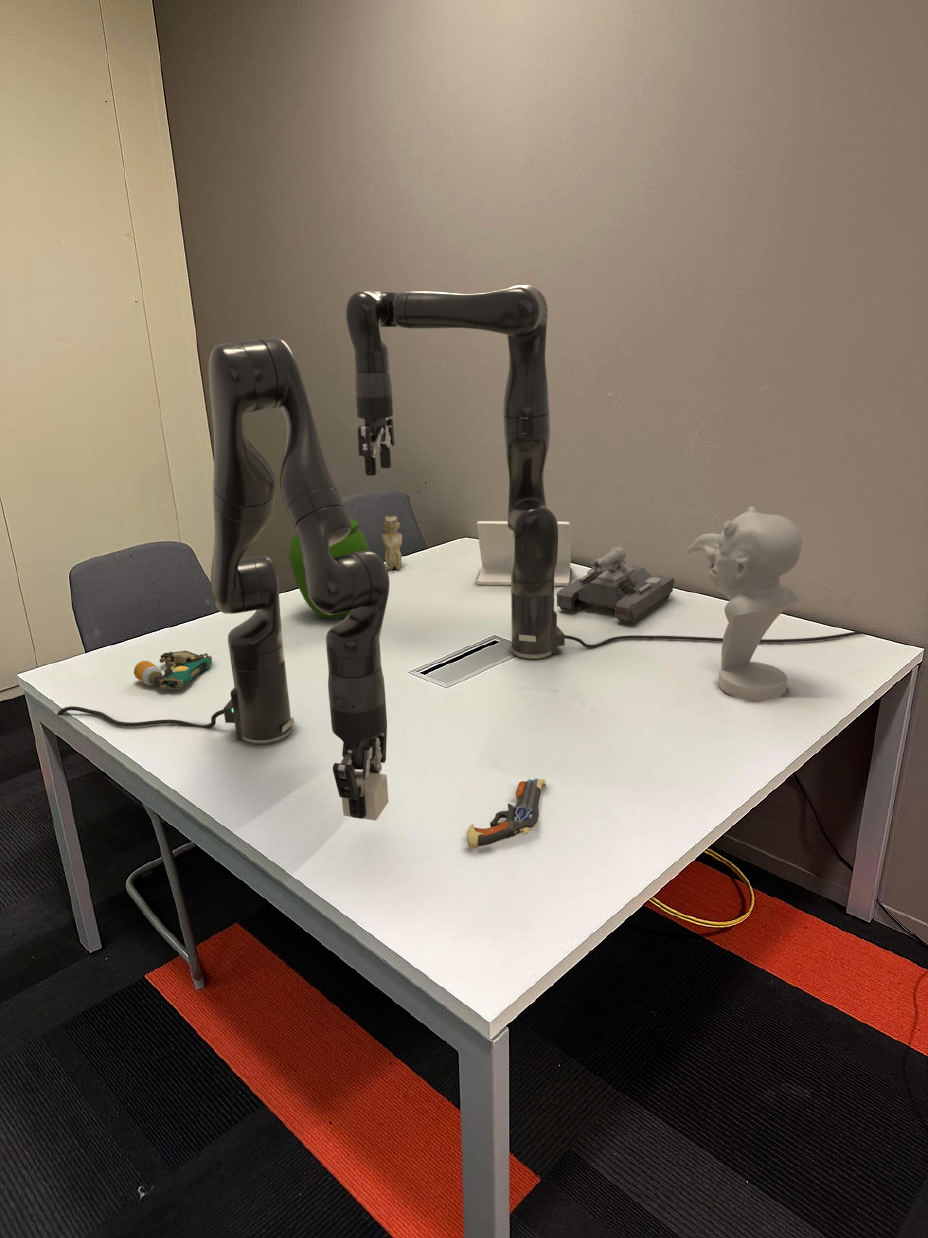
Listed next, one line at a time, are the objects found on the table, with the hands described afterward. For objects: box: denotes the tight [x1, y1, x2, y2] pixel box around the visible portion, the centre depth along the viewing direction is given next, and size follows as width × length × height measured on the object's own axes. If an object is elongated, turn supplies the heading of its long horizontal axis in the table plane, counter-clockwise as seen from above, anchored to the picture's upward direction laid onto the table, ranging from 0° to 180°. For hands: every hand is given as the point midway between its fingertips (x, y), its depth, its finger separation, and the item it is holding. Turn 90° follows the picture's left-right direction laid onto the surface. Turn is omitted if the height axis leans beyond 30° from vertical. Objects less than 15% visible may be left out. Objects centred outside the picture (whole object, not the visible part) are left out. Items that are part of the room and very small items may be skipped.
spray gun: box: [133, 650, 213, 690], centre depth 180 cm, size 4×17×15 cm
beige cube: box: [341, 770, 389, 821], centre depth 120 cm, size 5×5×5 cm
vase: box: [288, 516, 370, 620], centre depth 209 cm, size 20×20×24 cm
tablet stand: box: [476, 520, 572, 587], centre depth 236 cm, size 18×25×17 cm
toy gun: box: [466, 778, 547, 850], centre depth 128 cm, size 3×19×10 cm
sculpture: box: [381, 515, 403, 570], centre depth 247 cm, size 6×7×15 cm
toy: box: [556, 546, 676, 624], centre depth 212 cm, size 25×20×15 cm
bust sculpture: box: [686, 506, 803, 701], centre depth 166 cm, size 16×24×35 cm, turn 28°
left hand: (365, 805), depth 121 cm, fingers closed on beige cube, 5 cm apart
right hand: (378, 471), depth 183 cm, fingers open, 8 cm apart
